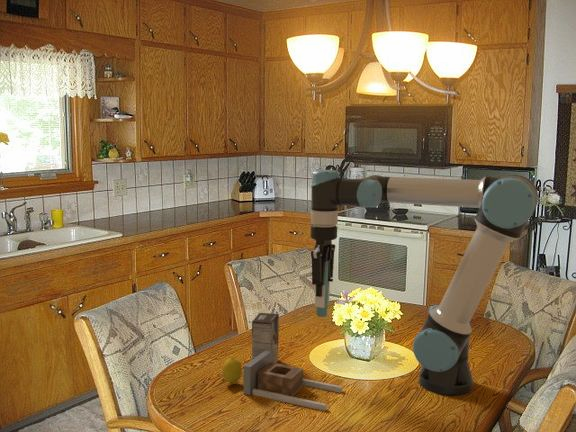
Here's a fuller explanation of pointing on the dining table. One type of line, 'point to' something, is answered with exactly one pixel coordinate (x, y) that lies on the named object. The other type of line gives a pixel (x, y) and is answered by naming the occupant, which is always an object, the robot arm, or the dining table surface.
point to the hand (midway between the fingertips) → (322, 305)
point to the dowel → (323, 311)
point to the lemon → (232, 370)
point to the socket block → (280, 379)
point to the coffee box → (265, 334)
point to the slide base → (252, 387)
